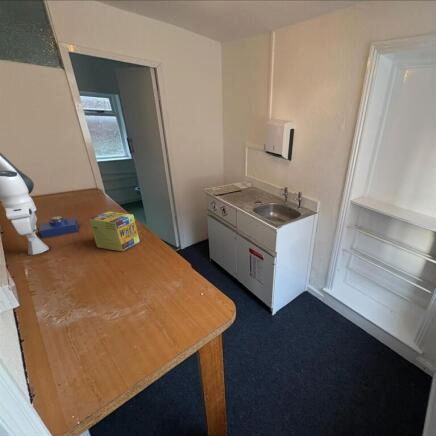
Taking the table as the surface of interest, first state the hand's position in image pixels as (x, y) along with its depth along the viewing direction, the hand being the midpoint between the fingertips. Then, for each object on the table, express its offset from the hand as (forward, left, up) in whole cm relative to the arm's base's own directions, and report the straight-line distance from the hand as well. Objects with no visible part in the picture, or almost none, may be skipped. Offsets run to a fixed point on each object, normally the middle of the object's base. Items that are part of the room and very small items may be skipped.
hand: (33, 236), depth 107 cm
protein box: (+29, -14, -8) cm, 34 cm away
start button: (+6, +23, -2) cm, 24 cm away
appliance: (+6, +21, -8) cm, 23 cm away
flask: (-1, 0, -8) cm, 8 cm away
